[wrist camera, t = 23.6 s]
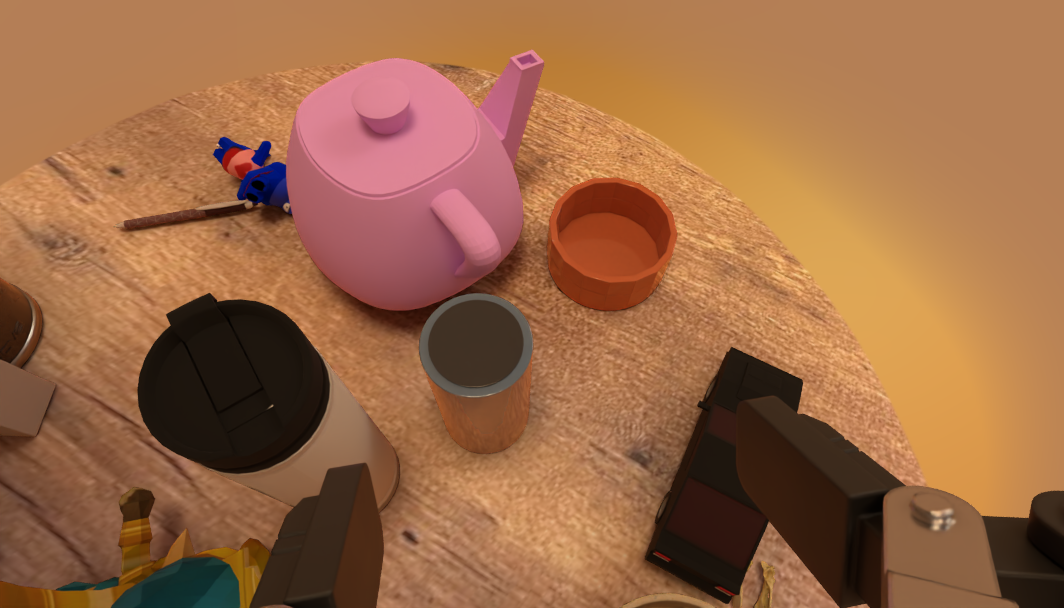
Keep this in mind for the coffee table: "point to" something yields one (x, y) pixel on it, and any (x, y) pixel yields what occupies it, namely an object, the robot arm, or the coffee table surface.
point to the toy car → (717, 485)
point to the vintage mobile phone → (22, 401)
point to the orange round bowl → (609, 243)
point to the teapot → (409, 179)
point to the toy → (156, 572)
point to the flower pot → (667, 602)
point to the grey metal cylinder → (479, 370)
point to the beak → (764, 602)
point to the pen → (189, 214)
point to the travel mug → (257, 402)
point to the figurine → (255, 173)
